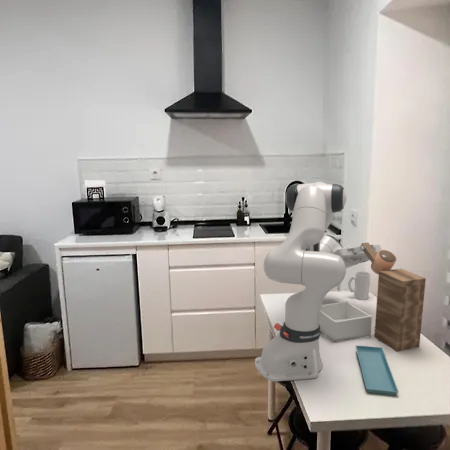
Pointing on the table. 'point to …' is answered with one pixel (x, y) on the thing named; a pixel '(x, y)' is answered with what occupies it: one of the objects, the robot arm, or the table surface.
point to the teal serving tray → (376, 370)
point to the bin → (344, 322)
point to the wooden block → (399, 309)
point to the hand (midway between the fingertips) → (368, 247)
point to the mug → (360, 285)
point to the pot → (379, 258)
